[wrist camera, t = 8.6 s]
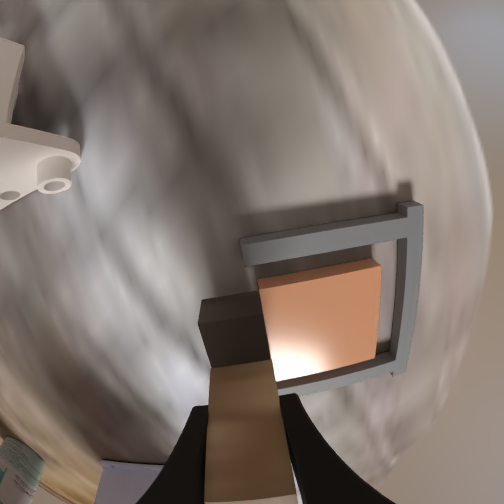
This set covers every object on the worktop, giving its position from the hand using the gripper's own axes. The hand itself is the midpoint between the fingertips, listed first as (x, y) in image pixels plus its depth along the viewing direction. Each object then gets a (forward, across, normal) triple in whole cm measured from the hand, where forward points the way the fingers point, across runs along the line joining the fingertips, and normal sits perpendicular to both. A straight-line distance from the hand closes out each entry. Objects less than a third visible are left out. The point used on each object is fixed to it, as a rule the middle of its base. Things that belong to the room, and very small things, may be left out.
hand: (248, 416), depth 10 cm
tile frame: (+6, -5, 0) cm, 8 cm away
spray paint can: (+6, +31, +17) cm, 36 cm away
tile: (+6, -4, 0) cm, 8 cm away
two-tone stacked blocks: (+4, 0, 0) cm, 4 cm away
